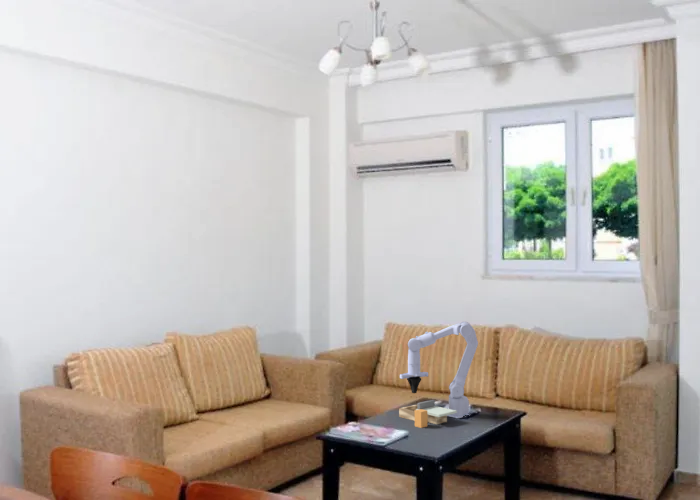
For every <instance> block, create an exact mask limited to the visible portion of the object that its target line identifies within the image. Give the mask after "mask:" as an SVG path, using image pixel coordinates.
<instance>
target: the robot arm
mask: <svg viewBox="0 0 700 500" xmlns="http://www.w3.org/2000/svg"><path fill="white" fill-rule="evenodd" d="M450 335H457V336H459V335H461V336H462V337H463V338H464V340H465V342H466V346H465V349H464V352H463V354H462V357H461V360H460V362H459V366H458V369H457V371H456V374H455V376H454V378H453V380H452V381H451V382H450V384H449V386H448V389H449V392H450V394H449V395H448V409H451V410H456V411H457V413H454V414H450V415H447V417H449V418H450V417H451V418H455V419H460V418H464V417H463V415H464V414H468V413H469V414H470V401H469V398H468V397H467V396H466V395H464V394H465V387H464V386H465V385H466V379H467V376H468V374H469V371H470V367H471V365H472V363H473V361H474V357H475V354H476V351H477V349H478V345H479V341H478V338H477V337H478V336H477V333H476V330H475V329H474V327H473V326H472V325H471V324H470V322H468V321H462V322H458V323H455V324H452V325H450V326H447V327H445V328H442V329H440V330H438V331H435V332H431V331H429V332H428V331H425V332H424V334H421V335H416V336H415V337H413V338H410V339H409V340H408V342H407V346H408V350H407V351H408V352H407V372H406V373H400V374H399V379H401V380H404V379H406V380H407V381H408V384H409V387H410V389H411V394H417V391H418V388H419V385H420V383H421V381H422V377H423V378H425V377H429V372H427V371H422V372H421V353H420V350H421V349H423V348H426V347H429V346H431V345H434V344H436V341H437V340H440V339H441V338H444V337H447V336H450Z"/></svg>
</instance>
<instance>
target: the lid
mask: <svg viewBox="0 0 700 500" xmlns="http://www.w3.org/2000/svg"><path fill="white" fill-rule="evenodd" d="M435 402H436V401H435V399H429V400H425V401H421V402H417V404H416V405H417V409H416V410H419V409H423V410H427V414H428V415H432V416H436V417H442V416H446V415H450V414H454V413H457V411H456V410H451V409H449V408H447V407H446V408H445V407H441V406H438V405H436V404H435Z"/></svg>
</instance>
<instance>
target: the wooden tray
mask: <svg viewBox="0 0 700 500" xmlns="http://www.w3.org/2000/svg"><path fill="white" fill-rule="evenodd" d="M398 409H399V410H398V417H399V418H403V419H406V420H409V421H414V422H415V410H416V409H417V404H413V405H409V406H402V407H399V408H398ZM427 423H430V424H434V425H440V424H443V423H448V416H447V415H446V416H442V417H436V416H432V415H428V414H427Z"/></svg>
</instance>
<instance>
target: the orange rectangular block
mask: <svg viewBox="0 0 700 500" xmlns="http://www.w3.org/2000/svg"><path fill="white" fill-rule="evenodd" d="M414 427H415V428H421V429H423V428H427V427H428V422H427V410H423V409H419V410H415V421H414Z"/></svg>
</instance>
